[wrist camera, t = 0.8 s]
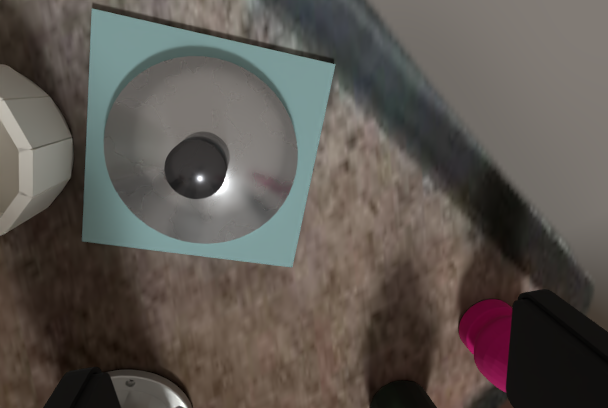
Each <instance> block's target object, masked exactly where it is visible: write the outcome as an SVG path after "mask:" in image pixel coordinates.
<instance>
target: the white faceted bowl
mask: <svg viewBox="0 0 608 408" xmlns="http://www.w3.org/2000/svg"><path fill="white" fill-rule="evenodd" d="M73 161H74V147H73V141H72V136H71V133H70V130H69V127H68V125H67V122H66V120H65V118H64V116H63V115H62V113H61V111H60V110H59V108H58V107H57V105H56V104H55V103H54V101H53V100H52V99H51V97H49V95H48V94H46V93H45V92H44V91H43V90H42V89H41V88H40V87H39V86H38V85H36V84H35V83H34V82H33V81H31V80H30V79H28V78H27V77H25V76H24V75H22V74H20V73H18V72H16V71H15V70H13V69H12V68H11V67H9V66H7V65H3V64H0V235H3V234H6V233H7V232H9V231H10V230H12V229H14V228H15V227H17V226H19V225H20V224H22V223H23V222H25V221H27V220H28V219H30V218H32V217H33V216H35V215H36V214H38V213H40V212H41V211H43V210H45V209H46V208H48V207H49V206H50V204H51V203H52V202H53V201H54V199H55V198H56V197H57V196H58V195H59V194H60V193H61V192H62V190H63V189H64V187H65V186H66V184H67V182H68V181H69V179H70V177H71V171H72V168H73Z"/></svg>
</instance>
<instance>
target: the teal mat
mask: <svg viewBox="0 0 608 408" xmlns="http://www.w3.org/2000/svg"><path fill="white" fill-rule="evenodd" d="M186 56H205V57H212V58H218V59H221V60H225V61H228V62H231V63H233V64H236V65H238V66H240V67H243V68H244V69H246V70H248V71H249V72H251V73H253V74H254V75H256V76H257V77H258V78H259V79H261V80H262V81H263V82H264V83H265V84H266V85H267V86H268V87H269V88H270V89H271V90H272V91H273V92H274V93H275V94H276V96H277V97H278V98H279V99H280V101H281V102H282V104H283V105H284V107H285V109H286V111H287V112H288V114H289V117H290V119H291V122H292V124H293V127H294V131H295V135H296V140H297V147H298V163H297V170H296V175H295V179H294V183H293V185H292V188H291V190H290V193H289V195H288V197H287V198H286V200H285V202H284V203H283V205H282V206H281V207H280V209H279V210H278V211H277V213H276V214H275V215H274V216H273V217H272V218H271V219H270V220H269V221H268V222H266V223H265V224H264V225H262V226H261V227H260V228H258V229H257V230H255V231H253V232H251V233H250V234H247V235H245V236H243V237H241V238H238V239H234V240H231V241H227V242H221V243H211V244H201V243H191V242H185V241H181V240H177V239H174V238H171V237H168V236H166V235H164V234H162V233H159V232H158V231H156V230H154V229H153V228H151V227H149V226H148V225H146V224H145V223H144V222H142V221H141V220H140V219H138V218H137V217H136V216H135V215H134V214H133V213H132V212H131V211H130V210H129V209H128V207H127V206H126V205H125V204H124V202H123V201H122V200H121V198H120V197H119V195H118V193H117V192H116V190H115V189H114V186H113V184H112V182H111V180H110V177H109V174H108V171H107V167H106V163H105V157H104V133H105V126H106V122H107V119H108V115H109V113H110V110H111V108H112V106H113V104H114V102H115V100H116V99H117V97H118V96H119V94H120V93H121V91H122V90H123V89H124V88H125V87H126V86H127V84H128V83H129V82H130V81H131V80H133V79H134V78H135V77H136V76H137V75H138V74H140V73H141V72H143V71H145V70H146V69H148V68H149V67H151V66H153V65H156V64H158V63H160V62H163V61H166V60H170V59H173V58H178V57H186ZM334 68H335V64H332V63H327V62H323V61H319V60H314V59H310V58H306V57H301V56H297V55H293V54H288V53H284V52H280V51H275V50H271V49H266V48H262V47H258V46H253V45H249V44H245V43H240V42H236V41H232V40H227V39H223V38H219V37H214V36H210V35H205V34H201V33H197V32H192V31H188V30H184V29H179V28H175V27H171V26H166V25H162V24H158V23H153V22H149V21H144V20H140V19H136V18H131V17H127V16H123V15H118V14H114V13H110V12H105V11H101V10H96V9H92V18H91V41H90V65H89V88H88V112H87V135H86V159H85V182H84V206H83V229H82V241H83V242H91V243H99V244H107V245H115V246H124V247H132V248H140V249H148V250H156V251H164V252H172V253H180V254H188V255H196V256H205V257H213V258H221V259H229V260H237V261H245V262H253V263H261V264H269V265H277V266H285V267H292V266H293V261H294V257H295V252H296V247H297V243H298V238H299V233H300V229H301V224H302V219H303V214H304V210H305V205H306V200H307V196H308V191H309V186H310V181H311V177H312V172H313V167H314V163H315V158H316V153H317V148H318V144H319V139H320V134H321V130H322V125H323V120H324V115H325V111H326V106H327V101H328V97H329V92H330V87H331V82H332V78H333V73H334Z"/></svg>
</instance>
